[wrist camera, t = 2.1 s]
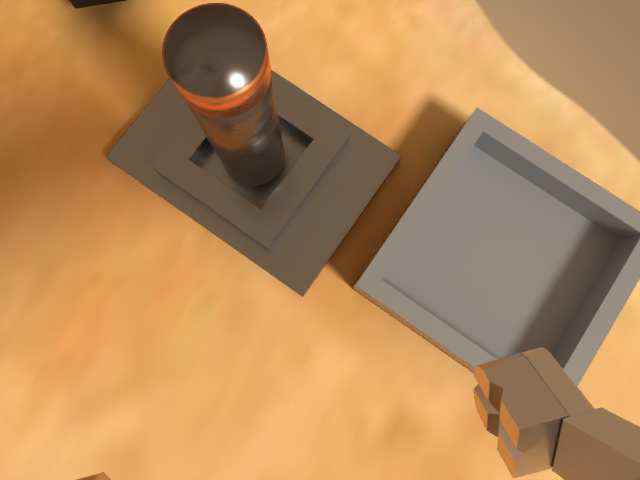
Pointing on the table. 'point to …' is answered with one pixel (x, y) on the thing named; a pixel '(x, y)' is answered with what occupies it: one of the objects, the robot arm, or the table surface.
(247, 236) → the collar plate
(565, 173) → the tray
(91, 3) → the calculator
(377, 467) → the table surface
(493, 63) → the table surface
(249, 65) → the pin
